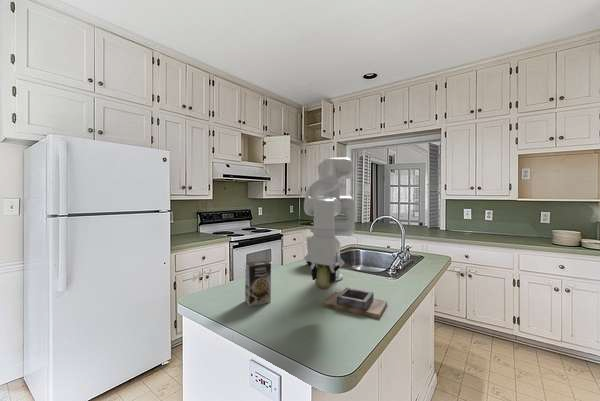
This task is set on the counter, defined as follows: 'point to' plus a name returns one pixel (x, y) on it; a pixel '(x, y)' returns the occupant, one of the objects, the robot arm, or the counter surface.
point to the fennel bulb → (323, 277)
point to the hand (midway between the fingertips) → (323, 280)
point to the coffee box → (258, 283)
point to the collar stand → (356, 302)
